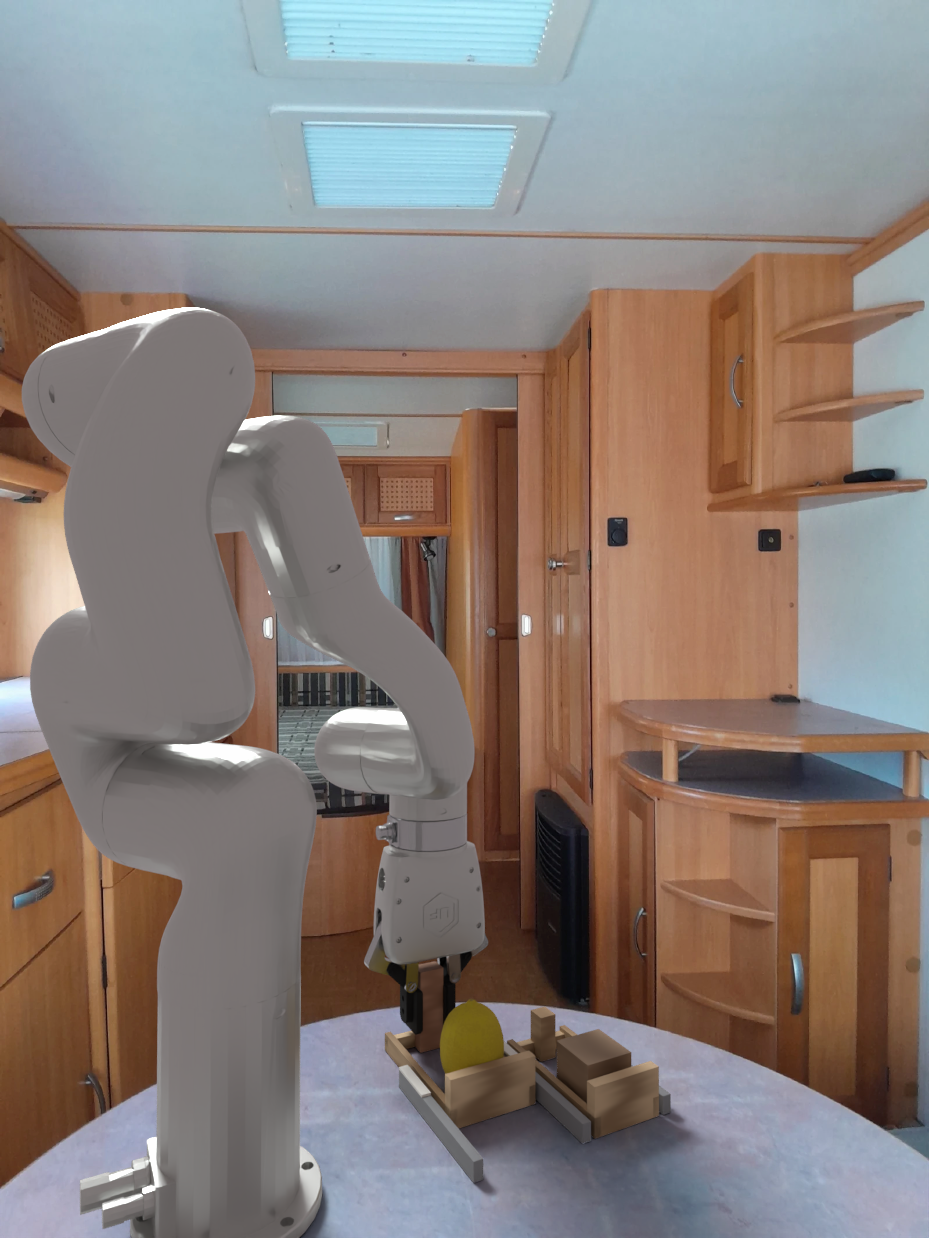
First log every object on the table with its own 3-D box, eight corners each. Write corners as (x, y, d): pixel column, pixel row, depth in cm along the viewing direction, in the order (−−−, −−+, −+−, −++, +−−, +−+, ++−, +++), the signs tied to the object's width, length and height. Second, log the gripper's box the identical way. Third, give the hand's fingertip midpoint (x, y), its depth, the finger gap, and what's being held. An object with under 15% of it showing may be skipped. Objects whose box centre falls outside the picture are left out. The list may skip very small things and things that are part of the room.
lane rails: (473, 1183, 57) (473, 1159, 57) (398, 1086, 69) (398, 1066, 69) (591, 1140, 62) (591, 1118, 62) (502, 1057, 74) (502, 1039, 74)
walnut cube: (587, 1121, 65) (587, 1065, 65) (556, 1093, 69) (556, 1040, 69) (631, 1106, 67) (631, 1052, 67) (598, 1079, 71) (598, 1028, 71)
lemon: (505, 1078, 71) (504, 987, 71) (503, 1114, 65) (502, 1016, 66) (443, 1075, 71) (443, 985, 72) (436, 1111, 66) (436, 1013, 66)
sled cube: (594, 1138, 62) (594, 1087, 62) (507, 1057, 74) (506, 1014, 74) (658, 1115, 65) (658, 1066, 65) (564, 1041, 77) (564, 999, 77)
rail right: (663, 1114, 65) (663, 1096, 65) (581, 1050, 75) (581, 1034, 75) (670, 1112, 66) (670, 1093, 66) (587, 1048, 76) (587, 1032, 76)
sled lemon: (450, 1131, 63) (450, 1035, 63) (384, 1049, 76) (384, 970, 76) (535, 1103, 67) (535, 1013, 67) (459, 1030, 79) (459, 954, 79)
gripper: (362, 851, 70) (361, 1063, 69) (519, 831, 77) (519, 1022, 77) (335, 832, 77) (335, 1025, 76) (483, 815, 84) (483, 991, 83)
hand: (427, 1022), depth 76 cm, fingers closed on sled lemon, 2 cm apart
